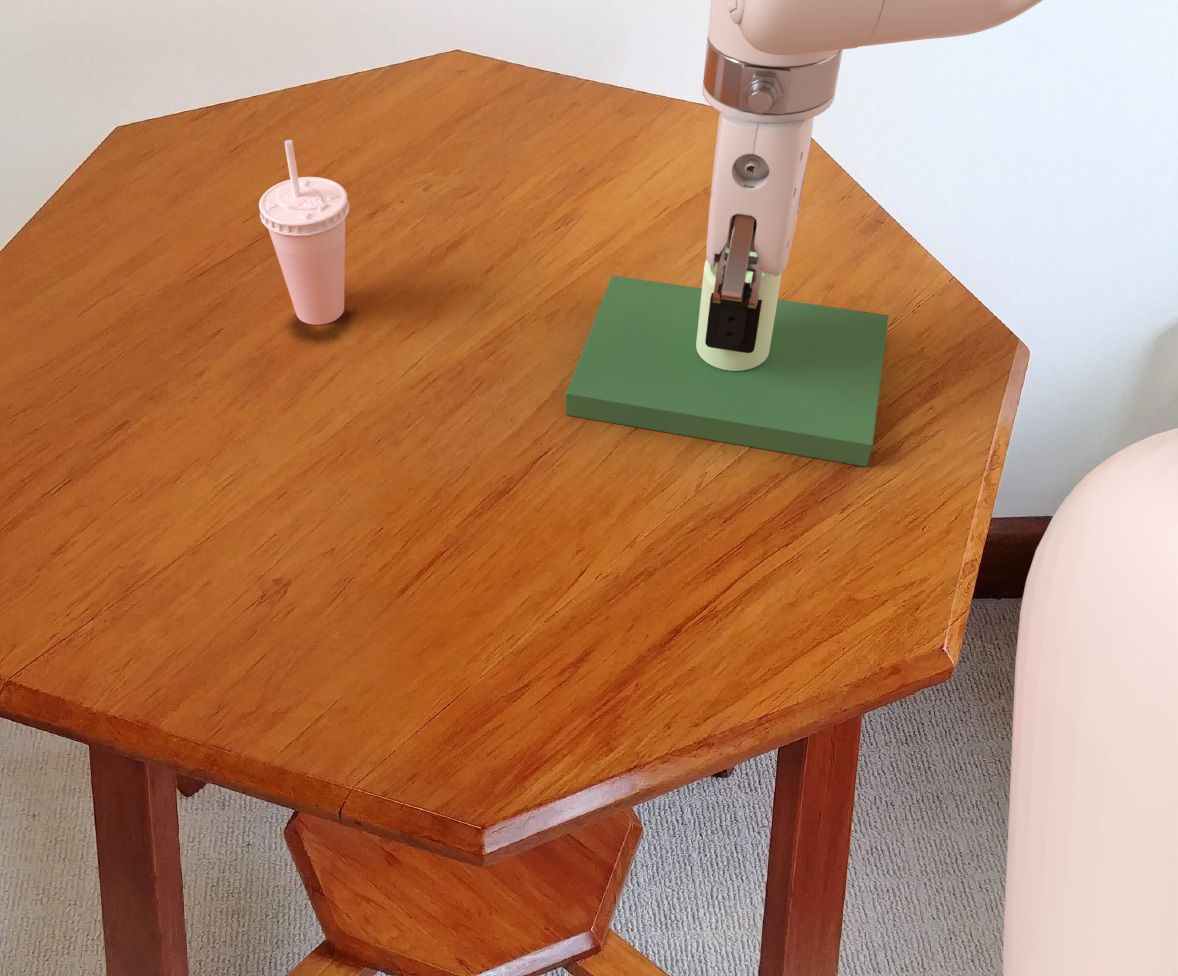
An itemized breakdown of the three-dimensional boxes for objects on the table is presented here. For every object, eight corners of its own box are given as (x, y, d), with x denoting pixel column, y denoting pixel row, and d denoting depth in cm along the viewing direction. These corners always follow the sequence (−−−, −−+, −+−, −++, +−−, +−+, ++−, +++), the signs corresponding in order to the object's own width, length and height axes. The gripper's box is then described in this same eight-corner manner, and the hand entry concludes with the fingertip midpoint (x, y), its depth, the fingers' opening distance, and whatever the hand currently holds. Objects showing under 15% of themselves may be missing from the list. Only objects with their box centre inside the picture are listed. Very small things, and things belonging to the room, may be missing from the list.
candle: (718, 380, 84) (730, 282, 78) (682, 337, 87) (691, 240, 81) (783, 359, 85) (800, 261, 79) (745, 318, 88) (759, 220, 82)
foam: (883, 336, 89) (888, 314, 88) (867, 467, 80) (873, 444, 78) (610, 296, 94) (611, 274, 93) (565, 415, 85) (565, 393, 83)
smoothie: (315, 275, 98) (290, 112, 88) (379, 302, 95) (360, 136, 85) (260, 317, 94) (228, 152, 84) (325, 346, 91) (299, 178, 81)
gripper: (822, 149, 64) (775, 413, 77) (851, 11, 76) (806, 262, 88) (678, 133, 66) (656, 394, 79) (728, 1, 77) (701, 248, 90)
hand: (735, 322), depth 84 cm, fingers closed on candle, 4 cm apart
